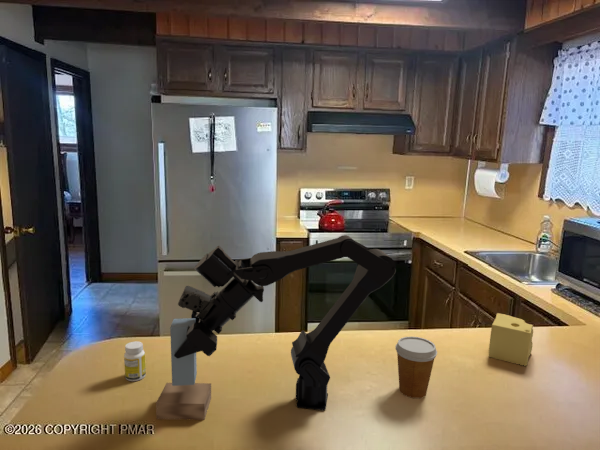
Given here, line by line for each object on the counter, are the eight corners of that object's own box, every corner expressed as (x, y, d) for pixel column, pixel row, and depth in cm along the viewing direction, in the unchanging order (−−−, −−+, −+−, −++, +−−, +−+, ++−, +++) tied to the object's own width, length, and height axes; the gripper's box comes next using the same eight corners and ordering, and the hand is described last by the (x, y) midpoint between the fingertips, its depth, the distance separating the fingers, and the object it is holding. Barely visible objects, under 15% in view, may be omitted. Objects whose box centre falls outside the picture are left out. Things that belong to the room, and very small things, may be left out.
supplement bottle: (139, 369, 113) (137, 338, 111) (149, 376, 110) (148, 344, 108) (121, 377, 109) (119, 345, 108) (131, 384, 106) (130, 351, 105)
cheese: (531, 353, 129) (535, 320, 127) (527, 368, 120) (531, 333, 118) (492, 343, 134) (496, 312, 132) (486, 357, 125) (489, 323, 123)
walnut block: (211, 399, 102) (211, 383, 101) (204, 421, 94) (204, 403, 93) (167, 398, 101) (166, 382, 101) (156, 420, 93) (156, 403, 93)
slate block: (196, 373, 99) (195, 318, 96) (194, 384, 94) (193, 326, 92) (175, 374, 98) (173, 318, 96) (172, 385, 94) (170, 327, 91)
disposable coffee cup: (406, 376, 113) (409, 332, 111) (440, 392, 107) (445, 345, 105) (384, 390, 107) (387, 343, 105) (419, 407, 100) (424, 357, 98)
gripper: (205, 263, 102) (157, 310, 102) (197, 289, 83) (138, 347, 84) (240, 295, 104) (192, 341, 105) (239, 328, 86) (182, 383, 87)
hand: (177, 351), depth 95 cm, fingers closed on slate block, 5 cm apart
